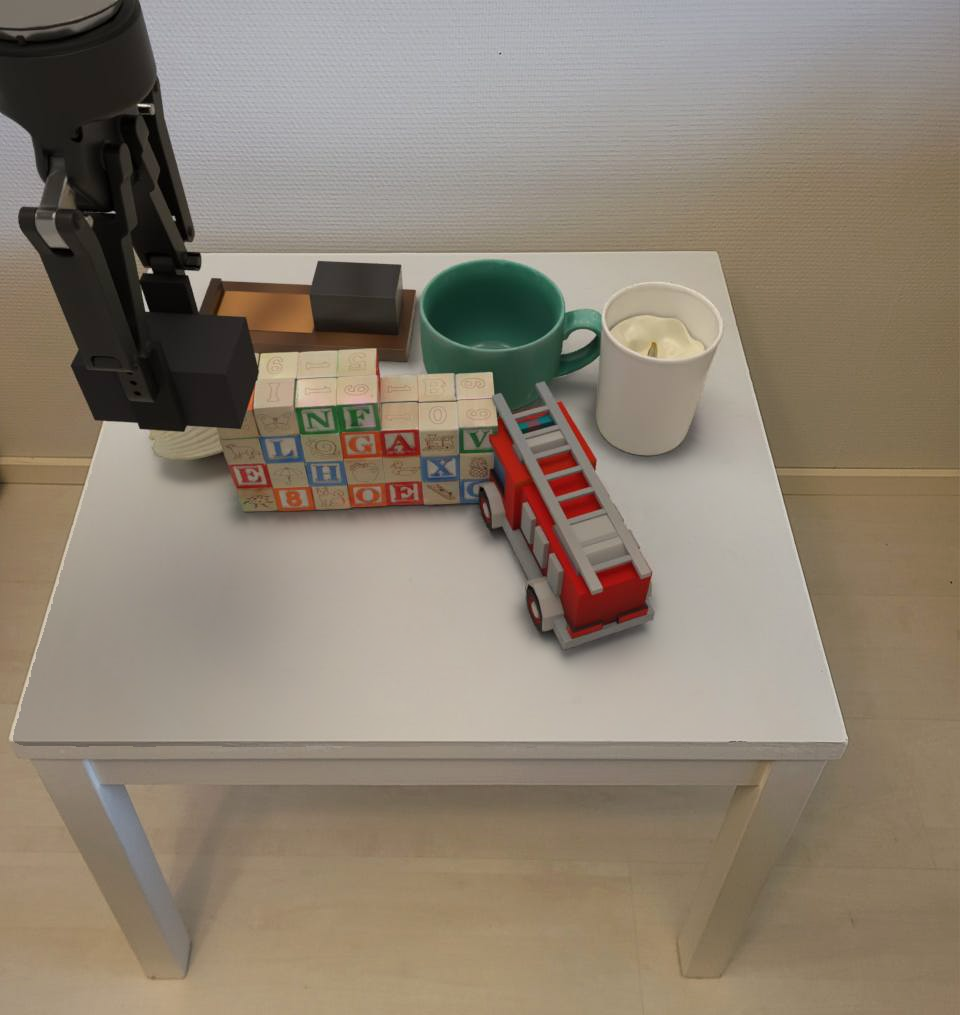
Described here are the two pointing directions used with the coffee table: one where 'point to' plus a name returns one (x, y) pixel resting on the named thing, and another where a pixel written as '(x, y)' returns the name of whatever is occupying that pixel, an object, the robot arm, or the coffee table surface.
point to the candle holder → (653, 364)
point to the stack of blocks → (359, 435)
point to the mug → (502, 327)
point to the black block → (187, 371)
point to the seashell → (186, 443)
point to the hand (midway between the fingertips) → (176, 392)
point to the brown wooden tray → (323, 310)
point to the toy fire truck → (563, 526)
